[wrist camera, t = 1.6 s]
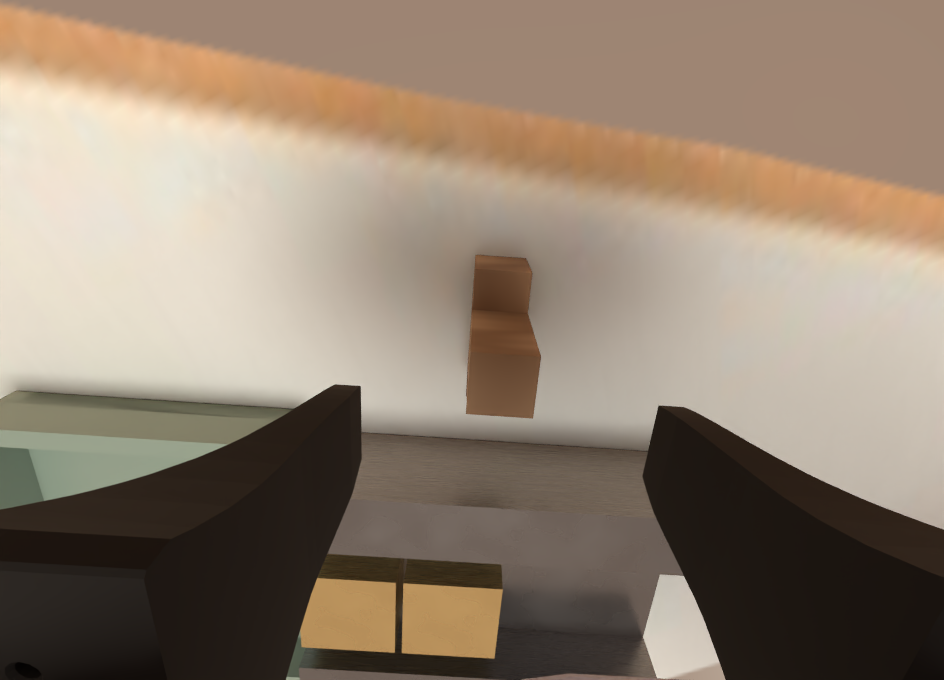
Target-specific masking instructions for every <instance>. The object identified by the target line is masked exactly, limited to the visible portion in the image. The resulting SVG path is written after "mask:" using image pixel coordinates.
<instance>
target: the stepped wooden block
mask: <svg viewBox="0 0 944 680" xmlns="http://www.w3.org/2000/svg"><path fill="white" fill-rule="evenodd" d="M531 280H532V271H531V269H530V266H529V264H528V262H527V260H526V258H512V257H498V256H484V255H476V257H475V271H474V285H473V299H472V313H471V327H470V341H469V355H468V369H467V389H466V396H467V407H466V414H475V415H490V416H505V417H521V418H533V414H534V407H535V399H536V391H537V383H538V376H539V368H540V360H541V355H540V352H539V349H538V346H537V342H536V339H535V336H534V333H533V329H532V326H531V323H530V320H529V316H528V306H529V297H530V289H531Z"/></svg>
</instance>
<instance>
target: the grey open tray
mask: <svg viewBox="0 0 944 680" xmlns="http://www.w3.org/2000/svg"><path fill="white" fill-rule="evenodd" d="M361 441H362V460H361V464H360V467H359V471H358V475H357V479H356V483H355V486H354V490H353V493H352V496H351V499H350V501H349V504H348V506H347V508H346V511H345V513H344V516H343V518H342V520H341V523H340V525H339V528H338V530H337V532H336V535H335V537H334V539H333V542H332V544H331V547H330V549H329V551H328V554H340V555H356V556H372V557H389V558H404V577H405V571H406V565H407V559H421V560H437V561H453V562H470V563H486V564H501V567H502V585H503V592H502V600H501V608H500V616H499V625H498V633H497V641H496V649H495V658H494V659H492V658H475V657H458V656H441V655H424V654H407V653H402V620H403V607H402V613H401V618H400V624H399V630H398V636H397V642H396V648H395V653H390V652H373V651H356V650H340V649H323V648H306V649H305V651H304V654H303V657H302V660H301V663H300V666H299V676H300V680H522V679H529V678H537V677H545V676H553V675H561V674H569V673H570V674H588V675H606V676H623V677H641V678H657V677H656V674H655V671H654V668H653V665H652V662H651V659H650V656H649V654H648V651H647V648H646V645H645V642H644V639H643V634H644V630H645V627H646V623H647V619H648V616H649V612H650V608H651V605H652V601H653V597H654V594H655V590H656V586H657V583H658V579H659V575H660V574H664V575H681V576H684V575H683V573H682V571H681V569H680V567H679V565H678V563H677V561H676V559H675V557H674V554H673V552H672V550H671V548H670V546H669V544H668V542H667V540H666V538H665V536H664V534H663V532H662V530H661V528H660V525H659V523H658V521H657V519H656V517H655V515H654V512H653V509H652V506H651V503H650V500H649V497H648V494H647V491H646V487H645V484H644V481H643V477H642V475H643V471H644V466H645V462H646V458H647V454H648V451H633V450H618V449H603V448H587V447H572V446H556V445H541V444H526V443H510V442H495V441H480V440H464V439H449V438H433V437H418V436H403V435H387V434H372V433H361Z"/></svg>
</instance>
